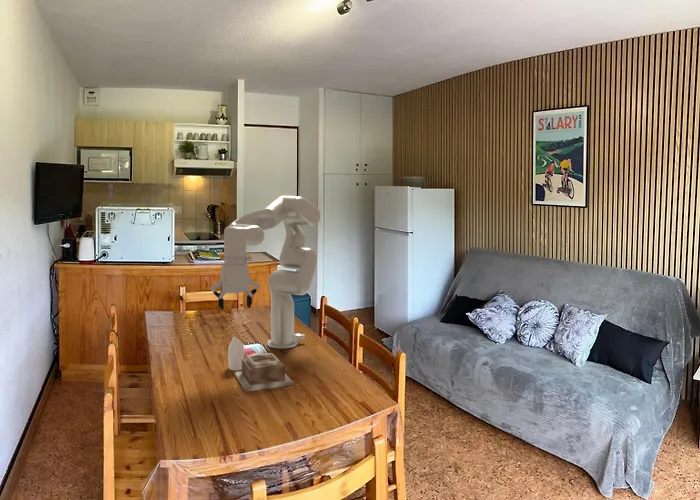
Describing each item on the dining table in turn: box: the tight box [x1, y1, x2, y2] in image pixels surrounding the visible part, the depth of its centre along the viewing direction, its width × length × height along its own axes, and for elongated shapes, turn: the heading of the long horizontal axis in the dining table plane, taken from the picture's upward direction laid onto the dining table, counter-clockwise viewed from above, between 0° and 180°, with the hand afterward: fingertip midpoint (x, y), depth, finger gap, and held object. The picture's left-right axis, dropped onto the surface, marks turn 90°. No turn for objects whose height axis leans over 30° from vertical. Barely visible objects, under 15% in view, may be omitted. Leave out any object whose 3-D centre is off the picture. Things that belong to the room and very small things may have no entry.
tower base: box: [234, 352, 293, 393], centre depth 182 cm, size 16×16×8 cm
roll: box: [227, 336, 245, 372], centre depth 193 cm, size 6×12×6 cm
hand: (235, 308), depth 191 cm, fingers open, 9 cm apart
